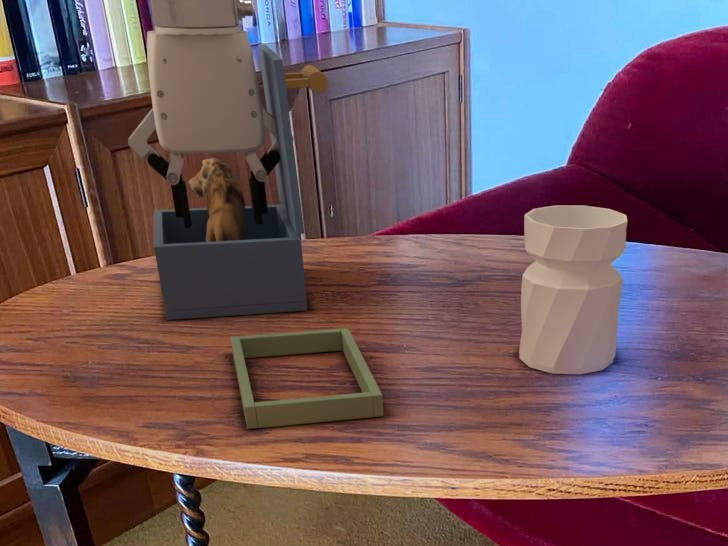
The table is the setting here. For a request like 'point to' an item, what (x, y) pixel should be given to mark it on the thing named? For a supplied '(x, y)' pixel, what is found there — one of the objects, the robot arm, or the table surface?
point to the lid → (286, 124)
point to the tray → (312, 407)
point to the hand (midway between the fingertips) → (223, 221)
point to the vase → (571, 288)
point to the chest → (229, 266)
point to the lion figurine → (220, 201)
